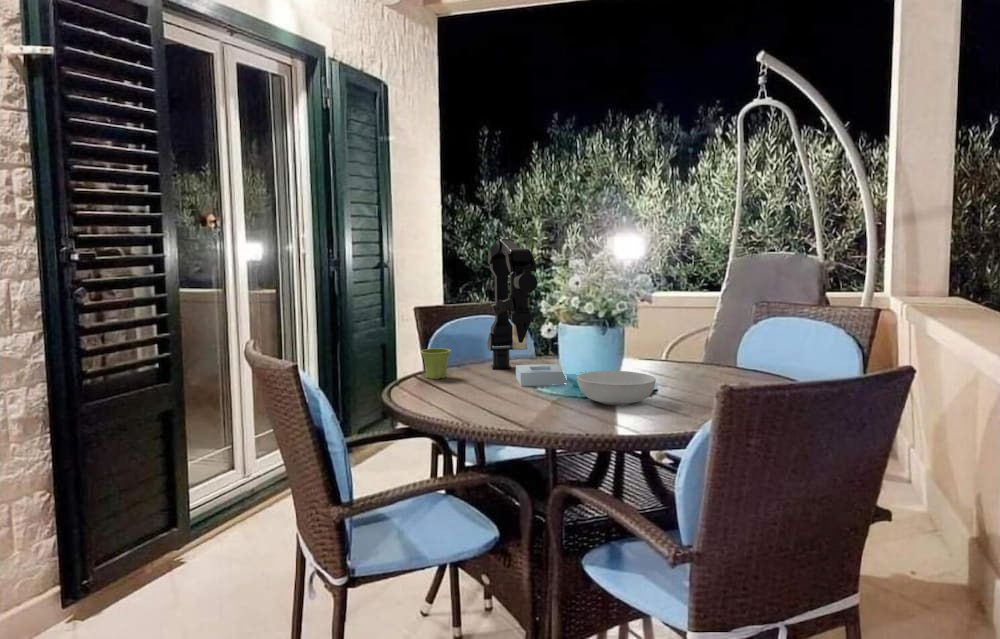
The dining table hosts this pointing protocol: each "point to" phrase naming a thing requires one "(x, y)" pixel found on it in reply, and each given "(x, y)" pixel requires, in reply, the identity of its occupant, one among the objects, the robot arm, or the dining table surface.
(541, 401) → the dining table surface
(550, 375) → the socket block
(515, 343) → the birch peg
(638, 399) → the serving bowl
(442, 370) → the plant pot
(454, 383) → the dining table surface
